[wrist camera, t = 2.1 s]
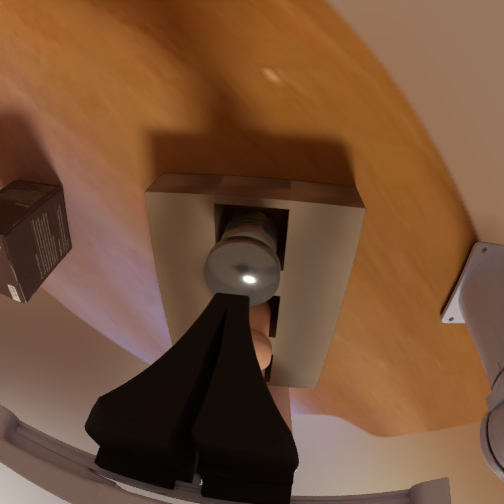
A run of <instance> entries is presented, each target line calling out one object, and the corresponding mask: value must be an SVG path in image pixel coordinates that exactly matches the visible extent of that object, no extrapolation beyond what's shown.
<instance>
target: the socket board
mask: <svg viewBox="0 0 504 504" xmlns="http://www.w3.org/2000/svg"><path fill="white" fill-rule="evenodd" d="M145 200H146V207H147V214H148V221H149V228H150V234H151V241H152V247H153V253H154V259H155V264H156V270H157V275H158V280H159V286H160V291H161V296H162V301H163V306H164V310H165V315H166V319H167V324H168V328H169V333H170V337H171V341H172V346H173V345H174V344H175V343H176V342H177V341H178V340H179V339H180V338H181V337H182V336H183V335H184V334H185V333H186V331H187V330H188V329H189V328H190V327H191V326H192V324H193V323H194V322H195V321H196V320H197V318H198V317H199V316H200V315H201V313H202V312H203V311H204V309H205V308H206V306H207V305H208V304H209V302H210V301H211V299H212V298H213V296H214V294H213V293H212V292H211V291H210V289H209V288H208V286H207V285H206V283H205V280H204V275H203V269H204V265H205V262H206V259H207V257H208V255H209V252H210V250H211V249H212V248H213V246H214V245H215V244H216V243H218V242H219V241H221V238H222V236H223V233H224V230H225V204H228V205H242V206H255V207H268V208H279V209H288V219H287V230H286V240H285V244H284V243H277V250H276V255H277V257H278V259H279V261H280V266H281V272H280V283H279V287H278V289H277V291H276V293H275V294H274V295H273V296H280V297H279V306H278V309H274V308H271V317H270V326H269V335H268V339H269V341H270V342H271V345H272V353H271V354H272V355H271V361H270V363H269V365H268V366H267V367H266V368H265V375H264V379H265V382H266V384H267V385H271V386H283V387H296V388H311V389H315V388H316V385H317V382H318V379H319V376H320V373H321V370H322V367H323V364H324V361H325V358H326V355H327V352H328V349H329V346H330V343H331V340H332V337H333V333H334V330H335V327H336V324H337V320H338V317H339V314H340V310H341V307H342V303H343V300H344V296H345V292H346V289H347V285H348V281H349V277H350V274H351V270H352V266H353V262H354V258H355V254H356V250H357V246H358V241H359V237H360V233H361V228H362V224H363V219H364V214H365V210H366V208H365V206H364V204H363V201H362V199H361V197H360V195H359V192H358V190H357V188H356V187H351V186H343V185H334V184H325V183H316V182H306V181H295V180H284V179H272V178H259V177H244V176H227V175H206V174H177V173H163V174H162V175H161V176H160V177H159V178H158V179H157V180H156V181H155V182H154V183H153V184H152V185H151V186H150V187H149V188H148V189H147V190H146V191H145Z"/></svg>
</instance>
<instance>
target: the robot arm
mask: <svg viewBox="0 0 504 504" xmlns="http://www.w3.org/2000/svg"><path fill="white" fill-rule="evenodd" d="M483 248H484V250H482V249H483ZM249 310H250V298H249V297H248V296H247V295H237V294H228V293H218V292H217V293H216V294H214V296H213V298H212V299H211V301H210V302H209V304H208V305H207V306H206V308H205V309H204V311H203V312H202V313H201V315H200V316H199V317H198V318H197V320H196V321H195V322H194V323H193V324H192V326H191V327H190V328H189V329H188V330H187V331H186V333H185V334H184V335H183V336H182V337H181V338H180V339H179V340H178V341H177V342H176V343H175V344H174V345H173V346H172V347H171V348H170V349H169V350H168V351H167V352H166V353H165V354H164V355H163V356H161V357H160V358H159V359H158V360H157V361H155V362H154V363H153V364H152V365H151V366H149V367H148V368H147V369H146V370H144V371H143V372H141V373H140V374H138V375H137V376H136V377H134V378H132V379H131V380H129V381H128V382H127V383H125V384H123V385H121V386H120V387H118V388H116V389H114V390H112V391H110V392H109V393H107V394H105V395H103V396H101V397H99V398H98V400H97V402H96V403H95V405H94V406H93V408H92V410H91V412H90V415H89V417H88V419H87V421H86V424H85V430H86V432H87V433H88V435H89V436H90V437H91V438H92V439H93V440H94V441H95V442H96V443H97V444H98V445H99V446H100V448H99V450H98V453H97V456H96V455H93V454H90V453H88V452H85V451H83V450H80V449H78V448H76V447H73V446H71V445H69V444H66V443H64V442H62V441H60V440H58V439H55V438H53V437H51V436H49V435H47V434H45V433H43V432H41V431H39V430H37V429H35V428H33V427H31V426H29V425H27V424H26V423H24V422H22V421H20V420H19V419H18V417H17V416H15V415H14V414H13V413H12V412H11V411H10V410H8V409H7V408H5V407H3V406H2V405H0V462H1V463H3V464H4V465H6V466H7V467H9V468H10V469H12V470H13V471H15V472H16V473H18V474H20V475H21V476H23V477H24V478H26V479H27V480H29V481H31V482H33V483H34V484H36V485H38V486H39V487H41V488H43V489H45V490H46V491H49V492H50V493H52V494H54V495H56V496H58V497H60V498H62V499H63V500H66V501H68V502H70V503H72V504H171V503H167V502H163V501H160V500H156V499H152V498H149V497H145V496H142V495H138V494H135V493H131V492H128V491H126V490H124V489H122V488H121V487H119V486H118V485H117V484H116V483H115V482H113V481H111V480H109V479H113V480H115V481H118V482H121V483H124V484H127V485H130V486H133V487H136V488H139V489H143V490H146V491H150V492H153V493H157V494H160V495H164V496H168V497H172V498H176V499H181V500H185V501H190V502H195V503H200V504H451V496H450V487H449V478H447V477H446V478H441V479H437V480H431V481H426V482H422V483H419V484H416V485H414V486H412V487H411V488H410V489H406V490H399V491H392V492H384V493H374V494H363V495H348V496H291V489H292V484H293V477H294V472H295V471H296V469H297V467H298V464H299V458H298V452H297V448H296V445H295V442H294V439H293V436H292V432H291V430H290V429H289V427H288V425H287V424H286V422H285V420H284V419H283V417H282V415H281V413H280V412H279V410H278V408H277V406H276V404H275V402H274V400H273V398H272V395H271V393H270V391H269V389H268V387H267V384H266V382H265V379H264V377H263V374H262V371H261V368H260V365H259V362H258V359H257V356H256V352H255V348H254V344H253V340H252V334H251V329H250V322H249ZM441 321H442V322H443V323H465V324H466V326H467V328H468V330H469V333H470V335H471V337H472V340H473V342H474V345H475V347H476V349H477V352H478V354H479V357H480V360H481V362H482V365H483V367H484V370H485V373H486V376H487V378H488V381H489V384H490V387H491V390H492V392H491V393H490V394H489V395H488V396H487V397H486V402H487V406H488V409H489V410H488V411H487V413H486V414H485V415H484V417H483V419H482V423H481V427H480V444H481V450H482V454H483V456H484V459H485V461H486V463H487V464H488V466H489V467H490V468H491V469H492V471H493V472H494V473H495V474H497V476H498V477H499V478H500V479H501V480H502V481H503V483H504V245H499V244H493V243H487V242H477V243H475V244H474V246H473V248H472V251H471V253H470V255H469V258H468V260H467V263H466V265H465V267H464V270H463V272H462V274H461V276H460V278H459V281H458V283H457V285H456V287H455V289H454V291H453V293H452V295H451V297H450V300H449V302H448V304H447V306H446V307H445V309H444V311H443V313H442V315H441ZM98 474H99V475H98ZM100 475H101V476H100ZM102 476H104V477H107V478H109V479H106V478H104V477H102ZM201 479H202V481H203V483H202V485H199V484H200V483H201Z"/></svg>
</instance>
